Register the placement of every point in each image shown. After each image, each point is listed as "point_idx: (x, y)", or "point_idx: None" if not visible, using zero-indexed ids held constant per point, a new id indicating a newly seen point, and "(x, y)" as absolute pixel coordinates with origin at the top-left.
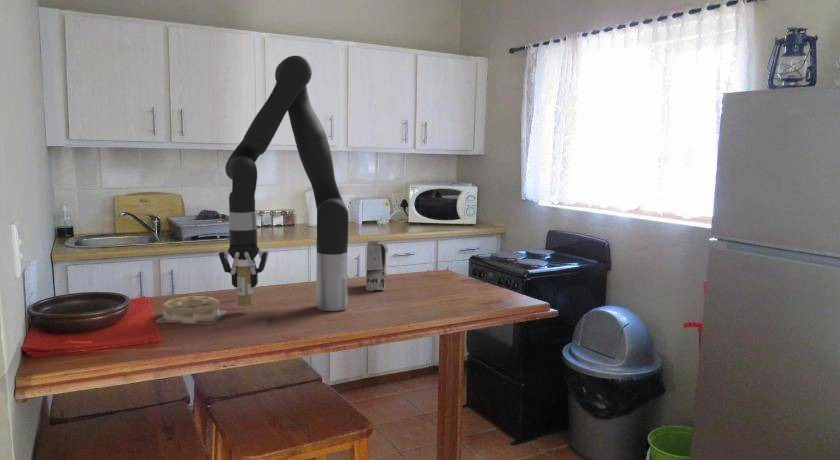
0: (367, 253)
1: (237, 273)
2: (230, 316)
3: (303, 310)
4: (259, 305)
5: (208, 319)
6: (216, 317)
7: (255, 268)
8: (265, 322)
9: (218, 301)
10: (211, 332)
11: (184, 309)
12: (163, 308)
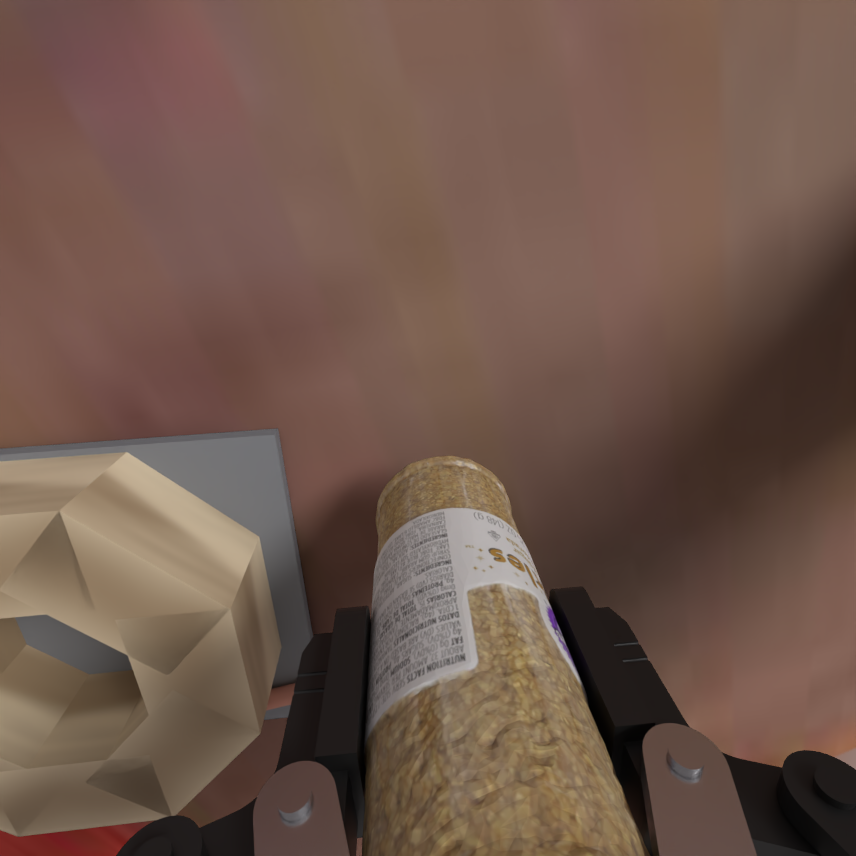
0: None
1: None
2: (341, 518)
3: (844, 279)
4: (457, 158)
5: (279, 706)
6: (280, 605)
7: (715, 839)
8: (599, 592)
9: (235, 619)
10: None
11: (114, 819)
12: None
